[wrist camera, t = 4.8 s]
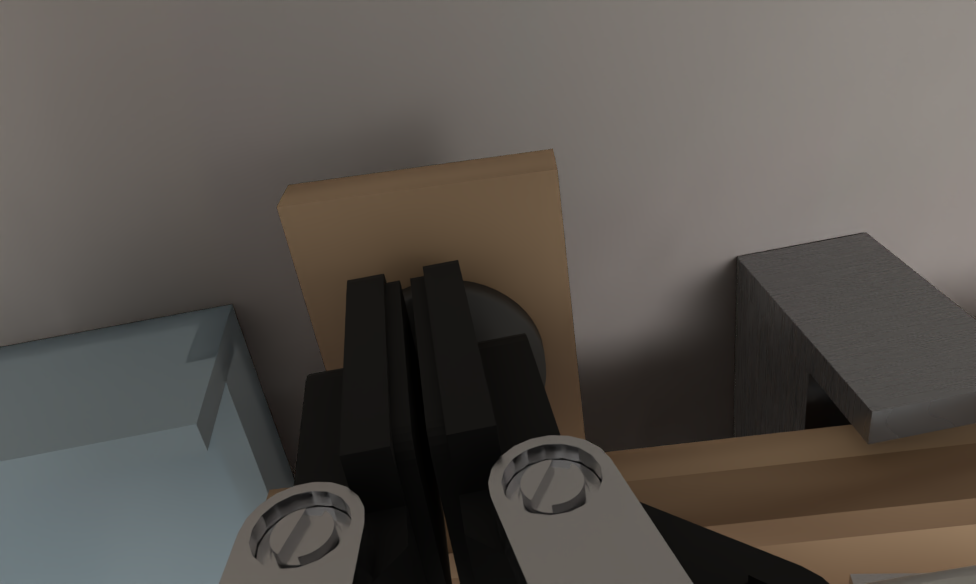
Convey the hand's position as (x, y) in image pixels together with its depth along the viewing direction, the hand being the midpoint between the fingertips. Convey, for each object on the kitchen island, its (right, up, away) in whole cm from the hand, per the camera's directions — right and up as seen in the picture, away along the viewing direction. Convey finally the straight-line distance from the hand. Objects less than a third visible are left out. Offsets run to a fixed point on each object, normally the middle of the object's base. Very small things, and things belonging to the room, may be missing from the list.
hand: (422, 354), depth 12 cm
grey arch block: (+9, -2, +8) cm, 12 cm away
